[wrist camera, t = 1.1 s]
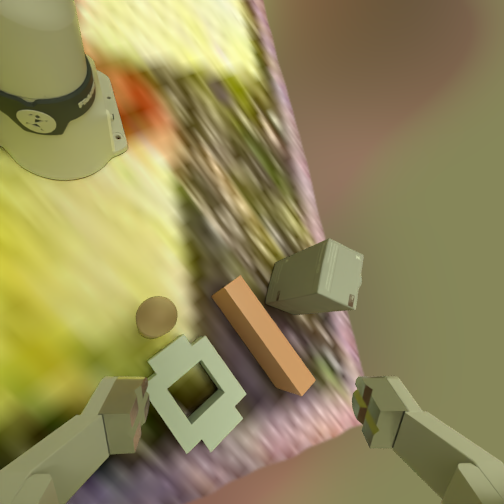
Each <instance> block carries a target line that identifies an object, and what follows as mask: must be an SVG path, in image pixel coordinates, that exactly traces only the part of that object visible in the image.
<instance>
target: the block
mask: <svg viewBox="0 0 504 504" xmlns="http://www.w3.org/2000/svg"><path fill="white" fill-rule="evenodd" d="M147 361H148V363H149V364H150V366H151V367H152V368H153V370H154V371H155V373H154V374H152V375H151V376H150V377H149V378H147V380H148V387H147V390H146V392H148V393H149V399H150V401H151V403H152V404H153V406H154V407H155V409H156V410H157V412H158V413H159V414H160V416H161V417H162V419H163V420H164V422H165V423H166V425H167V426H168V427H169V429H170V430H171V432H172V433H173V435H174V436H175V438H176V439H177V441H178V442H179V443H180V445H181V446H182V448H183V449H184V451H185V452H186V454H188V453H189V452H190V451H191V450H192V449H193V448H194V447H195V446H196V445H197V444H198V443H199V442H200V441H201V440H203V442H204V443H205V445H206V446H207V448H208V449H209V451H210V452H212V451H213V450H214V449H215V448H216V446H217V445H218V444H219V443H220V442H221V441H222V440H223V439H224V438H225V437H226V436H227V435H228V434H229V433H230V432H231V431H232V430H233V429H234V428H235V426H236V425H237V424H238V423H239V422H240V421H241V420H242V419H243V418H242V416H241V415H240V414H239V412H238V411H237V409H236V408H235V405H236V404H237V403H238V402H239V401H240V400H241V399H242V398H243V397H244V396H245V395H246V393H245V391H244V390H243V388H242V387H241V385H240V384H239V383H238V381H237V380H236V378H235V377H234V376H233V374H232V373H231V371H230V370H229V368H228V367H227V366H226V364H225V363H224V361H223V360H222V359H221V357H220V356H219V354H218V353H217V351H216V350H215V349H214V347H213V346H212V344H211V343H210V342H209V340H208V339H207V337H206V336H200V337H199V338H198V339H197V340H195V341H194V342H193V343H191V344H190V342H189V341H188V340H187V338H186V337H185V335H184V334H183V335H180V336H179V337H177V338H176V339H175V340H173V341H172V342H171V343H169V344H168V345H167V346H165V347H164V348H163V349H162V350H160V351H159V352H158V353H156V354H155V355H154V356H152V357H151V358H150V359H148V360H147ZM198 362H200V363H201V365H202V366H203V368H204V369H205V371H206V372H207V373H208V375H209V376H210V378H211V379H212V380H213V382H214V383H215V385H216V386H217V388H218V390H217V391H216V392H215V393H214V394H213V395H212V396H211V397H209V398H208V399H207V400H206V401H205V402H204V403H203V404H202V405H201V406H200V407H199V408H198V409H197V410H196V411H195V412H193V413H192V414H191V415H190V416H189V417H188V418H187V417H186V415H185V414H184V412H183V411H182V410H181V408H180V407H179V405H178V404H177V402H176V401H175V399H174V398H173V397H172V395H171V394H170V392H169V391H168V389H167V388H169V387H170V386H171V385H172V384H173V383H175V382H176V381H177V380H178V379H179V378H180V377H182V376H183V375H184V374H185V373H186V372H188V371H189V370H190V369H191V368H192V367H193V366H195V365H196V364H197V363H198Z"/></svg>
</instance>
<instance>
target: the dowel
mask: <svg viewBox="0 0 504 504" xmlns="http://www.w3.org/2000/svg"><path fill="white" fill-rule="evenodd" d="M176 321H177V309H176V307H175V305H174V304H173V302H172V301H170V300H169V299H167V298H165V297H161V296H155V297H151V298H149V299H147V300H145V301H144V302H143V303H142V304H141V305H140V306H139V308H138V310H137V313H136V322H137V327H138V331H139V333H140V334H141V335H142V336H143V337H145V338H148V339H153V338H157V337H159V336H162V335H164V334H166V333H168V332H169V331H170V330H171V329H172V328H173V327H174V325H175V323H176Z"/></svg>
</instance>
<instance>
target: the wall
mask: <svg viewBox="0 0 504 504" xmlns="http://www.w3.org/2000/svg"><path fill="white" fill-rule="evenodd" d="M211 297H212V298H213V300H214V301H215V302H216V304H217V305H218V307H219V308H220V309H221V311H222V312H223V314H224V315H225V317H226V318H227V319H228V321H229V322H230V324H231V325H232V326H233V328H234V329H235V331H236V332H237V333H238V335H239V336H240V338H241V339H242V340H243V342H244V343H245V345H246V346H247V347H248V349H249V350H250V352H251V353H252V354H253V356H254V357H255V359H256V360H257V362H258V363H259V364H260V366H261V367H262V369H263V370H264V371H265V373H266V374H267V376H268V377H269V378H270V380H271V381H272V383H273V384H274V385H275V387H276V388H278V389H281V390H284V391H288V392H291V393H294V394H297V395H300V396H302V395H303V394H304V393H305V392H306V391H307V390H308V389H309V387H310V386H311V385H312V384H313V383H314V382H315V378H314V377H313V376H312V374H311V373H310V371H309V370H308V369H307V367H306V366H305V364H304V363H303V362H302V360H301V359H300V357H299V356H298V355H297V353H296V352H295V350H294V349H293V348H292V346H291V345H290V343H289V342H288V341H287V339H286V338H285V337H284V335H283V334H282V332H281V331H280V330H279V328H278V327H277V325H276V324H275V323H274V321H273V320H272V318H271V317H270V316H269V314H268V313H267V311H266V310H265V309H264V307H263V306H262V304H261V303H260V302H259V300H258V299H257V298H256V296H255V295H254V293H253V292H252V291H251V289H250V288H249V286H248V285H247V284H246V282H245V281H244V279H243V278H242V277H241V275H240V276H239V277H237V278H236V279H235V280H233V281H232V282H230V283H229V284H227V285H226V286H224V287H223V288H222V289H220V290H219V291H218V292H216V293H215V294H213V295H212V296H211Z"/></svg>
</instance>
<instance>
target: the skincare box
mask: <svg viewBox="0 0 504 504" xmlns="http://www.w3.org/2000/svg"><path fill="white" fill-rule="evenodd" d="M363 257H364V256H363V255H362V254H360V253H358V252H356V251H354V250H352V249H350V248H348V247H346V246H344V245H342V244H340V243H338V242H336V241H334V240H332V239H327V240H325V241H322V242H320V243H318V244H316V245H313V246H311V247H309V248H307V249H305V250H302V251H300V252H298V253H296V254H293V255H291V256H289V257H287V258H284V259H282V260H280V261H278V262H276V263H275V266H274V270H273V273H272V276H271V280H270V283H269V287H268V292H267V296H266V301H265V304H267V305H269V306H272V307H275V308H278V309H280V310H283V311H285V312H288V313H290V314H293V315H301V314H311V313H322V312H332V311H345V310H355V309H356V304H357V297H358V289H359V287H360V286H361V283H362V277H361V271H362V264H363Z"/></svg>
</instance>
